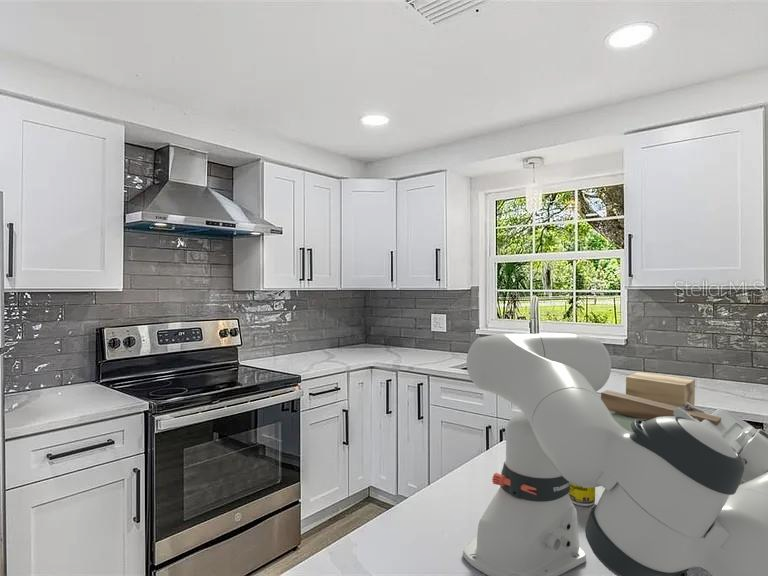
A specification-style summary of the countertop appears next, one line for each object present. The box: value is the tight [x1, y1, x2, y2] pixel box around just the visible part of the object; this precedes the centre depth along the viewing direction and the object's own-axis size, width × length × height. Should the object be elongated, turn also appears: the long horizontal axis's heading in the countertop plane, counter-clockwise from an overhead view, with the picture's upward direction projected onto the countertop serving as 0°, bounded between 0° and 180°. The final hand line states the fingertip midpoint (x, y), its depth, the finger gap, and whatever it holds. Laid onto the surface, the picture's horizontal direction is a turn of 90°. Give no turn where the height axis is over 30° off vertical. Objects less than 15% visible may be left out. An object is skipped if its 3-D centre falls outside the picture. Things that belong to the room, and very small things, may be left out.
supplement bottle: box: [569, 483, 596, 507], centre depth 109 cm, size 6×6×10 cm
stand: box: [625, 371, 696, 407], centre depth 114 cm, size 8×12×26 cm, turn 44°
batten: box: [600, 389, 721, 426], centre depth 104 cm, size 4×22×4 cm, turn 44°
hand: (679, 407), depth 101 cm, fingers closed on batten, 3 cm apart
